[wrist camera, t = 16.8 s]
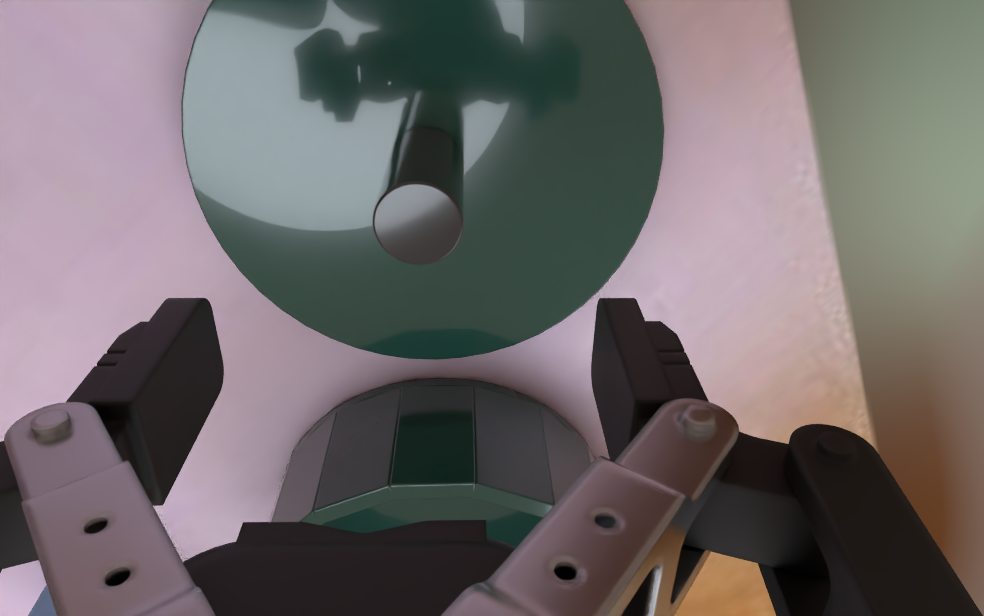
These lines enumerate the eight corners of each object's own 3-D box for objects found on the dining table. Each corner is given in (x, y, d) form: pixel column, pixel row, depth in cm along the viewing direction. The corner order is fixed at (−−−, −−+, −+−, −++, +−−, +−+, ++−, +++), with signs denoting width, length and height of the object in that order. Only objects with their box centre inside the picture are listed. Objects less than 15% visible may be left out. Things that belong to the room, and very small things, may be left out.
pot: (257, 380, 29) (211, 489, 23) (616, 374, 29) (649, 479, 24) (304, 615, 36) (277, 738, 31) (591, 607, 36) (612, 726, 31)
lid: (140, -113, 20) (24, -115, 15) (685, -113, 21) (762, -114, 15) (237, 347, 28) (184, 454, 23) (632, 340, 28) (671, 443, 23)
